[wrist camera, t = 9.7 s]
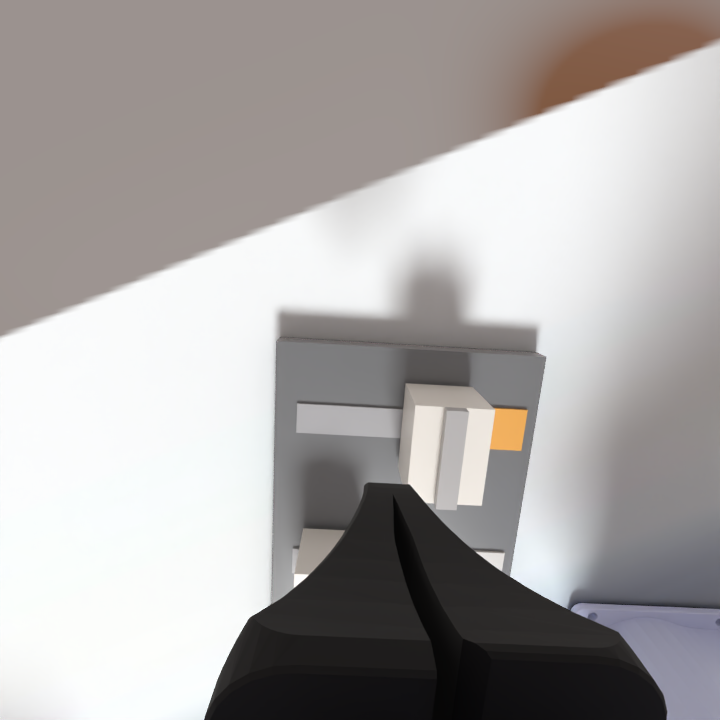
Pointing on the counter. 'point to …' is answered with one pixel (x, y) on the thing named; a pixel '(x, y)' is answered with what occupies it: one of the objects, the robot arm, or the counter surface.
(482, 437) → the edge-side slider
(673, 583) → the counter surface
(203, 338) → the counter surface
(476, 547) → the switch panel
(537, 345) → the counter surface
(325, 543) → the middle slider
